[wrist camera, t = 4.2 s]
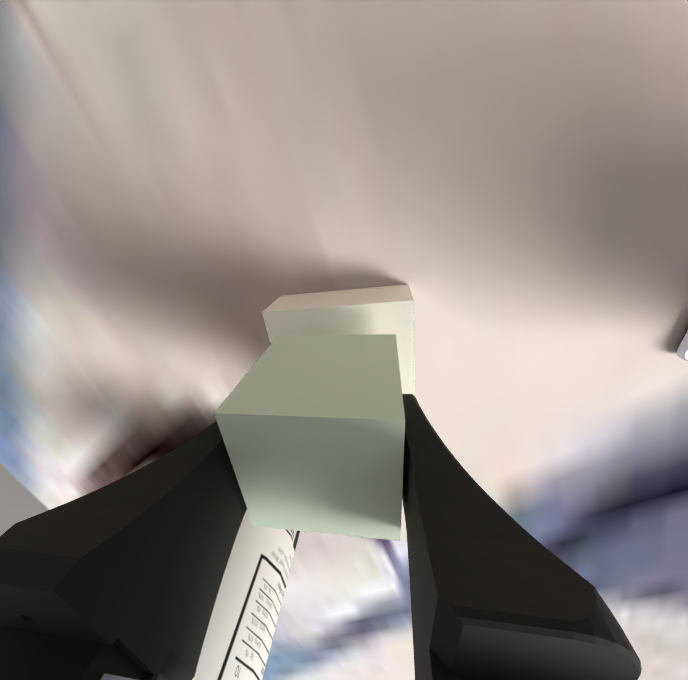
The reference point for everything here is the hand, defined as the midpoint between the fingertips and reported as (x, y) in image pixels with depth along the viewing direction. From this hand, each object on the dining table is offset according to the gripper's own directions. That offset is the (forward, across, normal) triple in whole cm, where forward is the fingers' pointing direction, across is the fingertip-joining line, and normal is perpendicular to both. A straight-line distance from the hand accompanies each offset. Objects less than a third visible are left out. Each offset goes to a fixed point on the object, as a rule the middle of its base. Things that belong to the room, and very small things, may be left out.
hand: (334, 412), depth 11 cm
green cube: (+2, 0, 0) cm, 2 cm away
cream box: (+6, 0, 0) cm, 6 cm away
